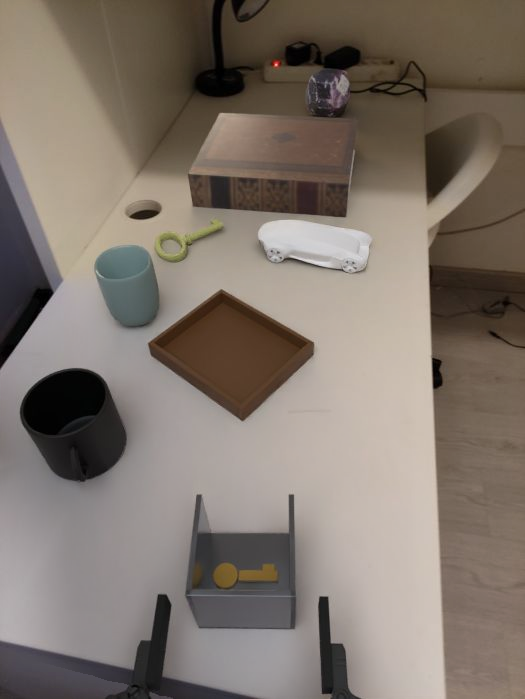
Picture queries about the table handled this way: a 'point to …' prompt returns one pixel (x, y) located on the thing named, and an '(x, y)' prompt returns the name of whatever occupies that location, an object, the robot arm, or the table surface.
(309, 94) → the mineral specimen
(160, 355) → the tray
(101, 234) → the table surface
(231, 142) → the book
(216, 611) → the grey open-sided box
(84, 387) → the mug
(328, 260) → the toy car
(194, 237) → the key
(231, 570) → the brass key
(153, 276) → the cup
